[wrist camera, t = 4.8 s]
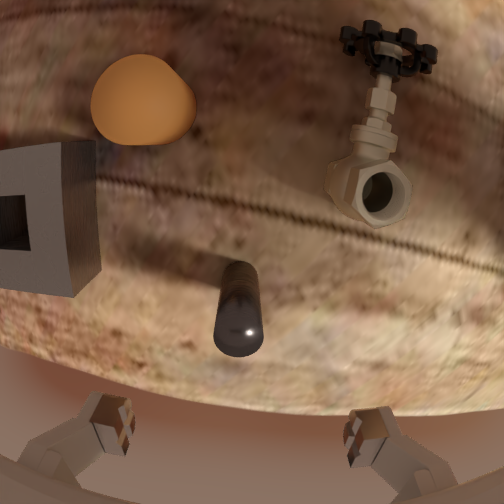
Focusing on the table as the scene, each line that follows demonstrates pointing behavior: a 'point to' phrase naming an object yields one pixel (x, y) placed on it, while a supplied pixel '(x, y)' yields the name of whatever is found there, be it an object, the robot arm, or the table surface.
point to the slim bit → (239, 312)
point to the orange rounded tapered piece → (142, 102)
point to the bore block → (48, 218)
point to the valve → (377, 128)
